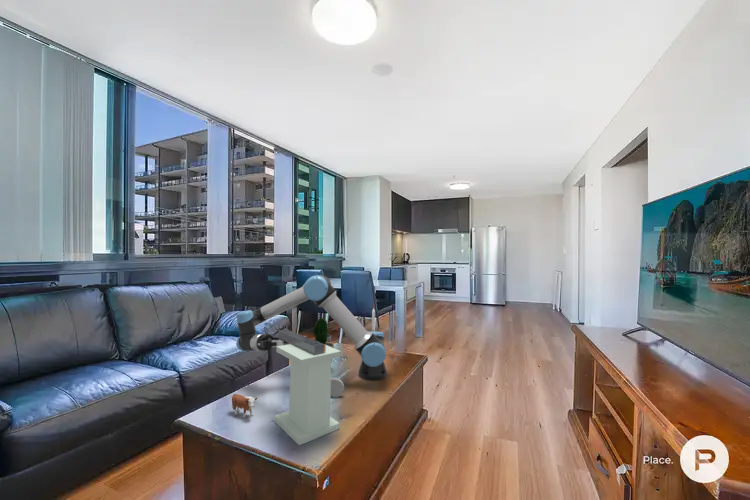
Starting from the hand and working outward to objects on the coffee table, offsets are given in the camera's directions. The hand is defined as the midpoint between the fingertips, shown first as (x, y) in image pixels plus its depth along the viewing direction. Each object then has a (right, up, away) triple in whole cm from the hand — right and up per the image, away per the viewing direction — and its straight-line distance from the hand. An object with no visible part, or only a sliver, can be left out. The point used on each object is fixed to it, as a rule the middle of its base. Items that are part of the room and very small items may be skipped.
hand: (294, 341), depth 135 cm
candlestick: (+34, -28, +55) cm, 70 cm away
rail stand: (+10, -25, -22) cm, 34 cm away
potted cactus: (+5, -27, +31) cm, 41 cm away
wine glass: (+4, -27, +52) cm, 58 cm away
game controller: (+12, -26, +3) cm, 29 cm away
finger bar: (+6, +3, -15) cm, 17 cm away
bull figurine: (-16, -25, -16) cm, 33 cm away
